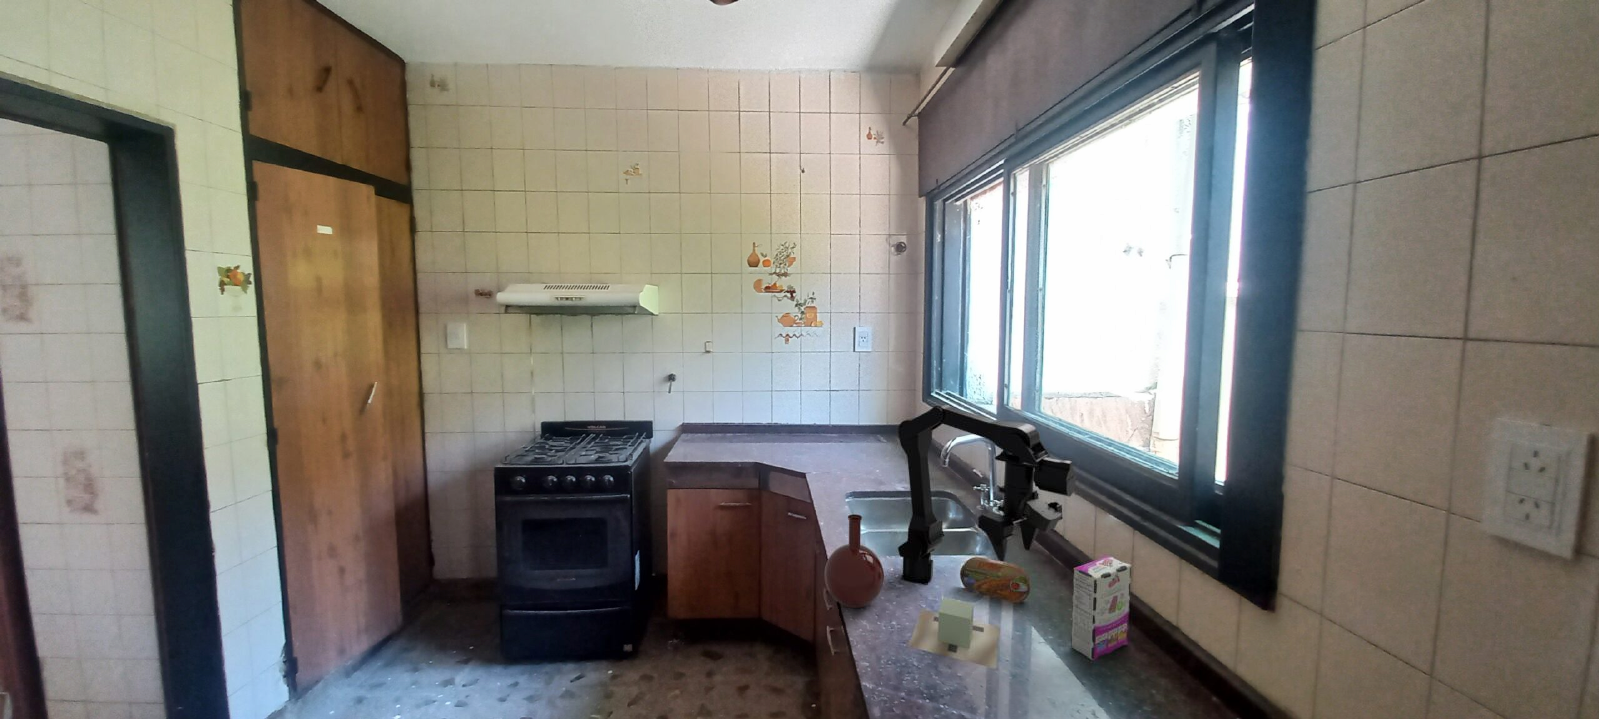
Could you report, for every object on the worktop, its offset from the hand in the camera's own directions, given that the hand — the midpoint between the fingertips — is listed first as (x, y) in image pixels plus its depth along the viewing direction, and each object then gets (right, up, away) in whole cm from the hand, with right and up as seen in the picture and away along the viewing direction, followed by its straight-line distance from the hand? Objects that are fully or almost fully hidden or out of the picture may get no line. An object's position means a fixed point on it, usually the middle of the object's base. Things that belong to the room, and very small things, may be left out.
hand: (1014, 555), depth 113 cm
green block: (-15, -14, -7) cm, 21 cm away
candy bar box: (+13, -15, -9) cm, 22 cm away
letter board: (-15, -14, -7) cm, 21 cm away
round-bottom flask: (-34, -13, +6) cm, 37 cm away
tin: (-1, -13, +9) cm, 16 cm away
